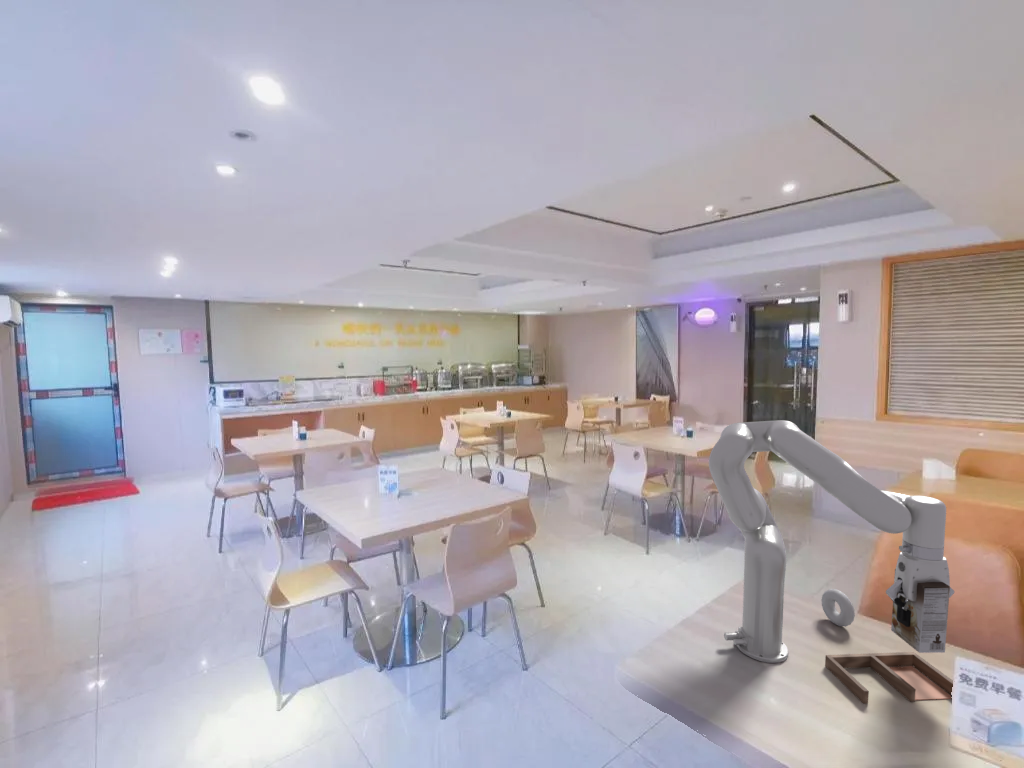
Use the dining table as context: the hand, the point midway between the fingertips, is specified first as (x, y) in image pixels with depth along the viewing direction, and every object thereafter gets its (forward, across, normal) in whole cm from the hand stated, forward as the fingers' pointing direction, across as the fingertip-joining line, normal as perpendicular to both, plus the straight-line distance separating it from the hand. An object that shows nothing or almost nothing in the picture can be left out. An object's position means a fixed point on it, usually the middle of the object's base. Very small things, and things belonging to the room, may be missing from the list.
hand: (918, 622), depth 118 cm
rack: (+15, -6, 0) cm, 16 cm away
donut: (+15, -1, +25) cm, 29 cm away
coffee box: (+5, 0, 0) cm, 5 cm away
